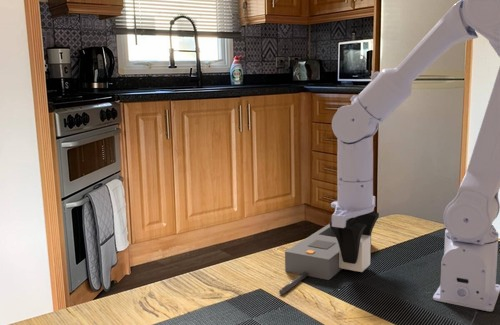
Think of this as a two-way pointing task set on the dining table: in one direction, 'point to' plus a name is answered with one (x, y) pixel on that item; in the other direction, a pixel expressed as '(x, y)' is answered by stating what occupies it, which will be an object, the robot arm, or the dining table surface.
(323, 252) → the power strip
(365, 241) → the plug
